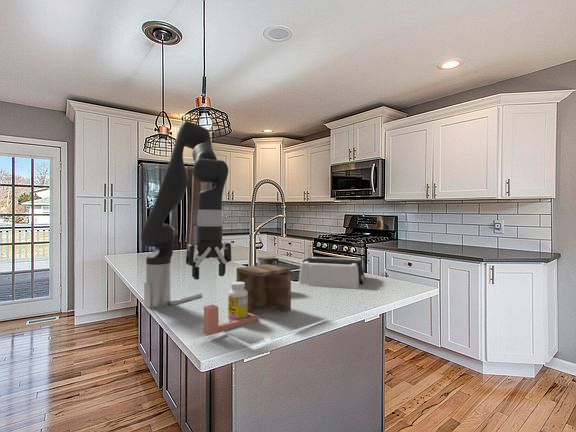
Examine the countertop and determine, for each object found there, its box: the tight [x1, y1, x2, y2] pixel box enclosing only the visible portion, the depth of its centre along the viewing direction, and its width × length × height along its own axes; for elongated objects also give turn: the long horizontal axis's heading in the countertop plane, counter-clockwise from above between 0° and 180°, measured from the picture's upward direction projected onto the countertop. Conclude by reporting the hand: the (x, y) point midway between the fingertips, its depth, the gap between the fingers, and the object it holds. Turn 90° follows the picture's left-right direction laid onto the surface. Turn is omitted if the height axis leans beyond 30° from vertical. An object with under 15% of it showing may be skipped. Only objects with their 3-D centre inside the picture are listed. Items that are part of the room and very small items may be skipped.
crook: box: [203, 304, 259, 336], centre depth 108 cm, size 20×8×8 cm, turn 133°
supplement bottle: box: [227, 281, 249, 322], centre depth 113 cm, size 7×7×13 cm
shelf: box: [236, 264, 292, 313], centre depth 123 cm, size 15×14×16 cm
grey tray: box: [298, 256, 366, 289], centre depth 175 cm, size 35×33×12 cm
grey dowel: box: [168, 293, 203, 306], centre depth 138 cm, size 16×2×2 cm, turn 148°
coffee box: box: [257, 256, 280, 266], centre depth 154 cm, size 9×6×16 cm
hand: (209, 277), depth 100 cm, fingers open, 8 cm apart
